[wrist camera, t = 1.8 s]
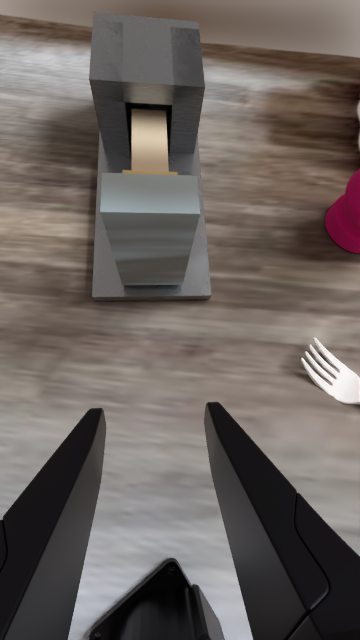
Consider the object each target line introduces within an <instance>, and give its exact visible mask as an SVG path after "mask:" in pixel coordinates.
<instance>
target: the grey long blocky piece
mask: <svg viewBox="0 0 360 640" xmlns="http://www.w3.org/2000/svg"><path fill="white" fill-rule="evenodd" d="M89 80H90V85H91V90H92V95H93V100H94V104H95V109H96V114H97V119H98V124H99V128H100V132H99V154H98V176H97V198H96V220H95V242H94V264H93V286H92V298H93V299H94V301H136V300H206V299H210V297H211V285H210V274H209V262H208V251H207V239H206V228H205V216H204V205H203V193H202V182H201V170H200V158H199V147H198V135H197V133H198V127H199V121H200V114H201V108H202V102H203V96H204V90H205V83H204V73H203V64H202V54H201V44H200V35H199V25H198V22H194V21H183V20H172V19H161V18H151V17H140V16H129V15H119V14H108V13H97V12H94V13H93V28H92V44H91V59H90V75H89ZM132 109H143V110H160V111H166V123H167V145H168V167H169V172H178V175H188V176H197V180H198V193H199V205H200V217H199V221H198V225H197V229H196V233H195V237H194V241H193V245H192V249H191V253H190V257H189V261H188V265H187V269H186V273H185V277H184V281H183V285H122V283H121V279H120V276H119V273H118V269H117V266H116V263H115V259H114V256H113V253H112V249H111V246H110V243H109V239H108V236H107V233H106V229H105V226H104V223H103V219H102V216H101V213H100V206H101V182H102V173H122V170H132Z"/></svg>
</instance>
